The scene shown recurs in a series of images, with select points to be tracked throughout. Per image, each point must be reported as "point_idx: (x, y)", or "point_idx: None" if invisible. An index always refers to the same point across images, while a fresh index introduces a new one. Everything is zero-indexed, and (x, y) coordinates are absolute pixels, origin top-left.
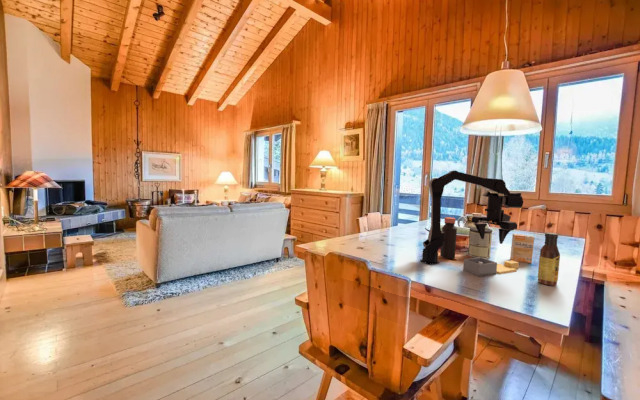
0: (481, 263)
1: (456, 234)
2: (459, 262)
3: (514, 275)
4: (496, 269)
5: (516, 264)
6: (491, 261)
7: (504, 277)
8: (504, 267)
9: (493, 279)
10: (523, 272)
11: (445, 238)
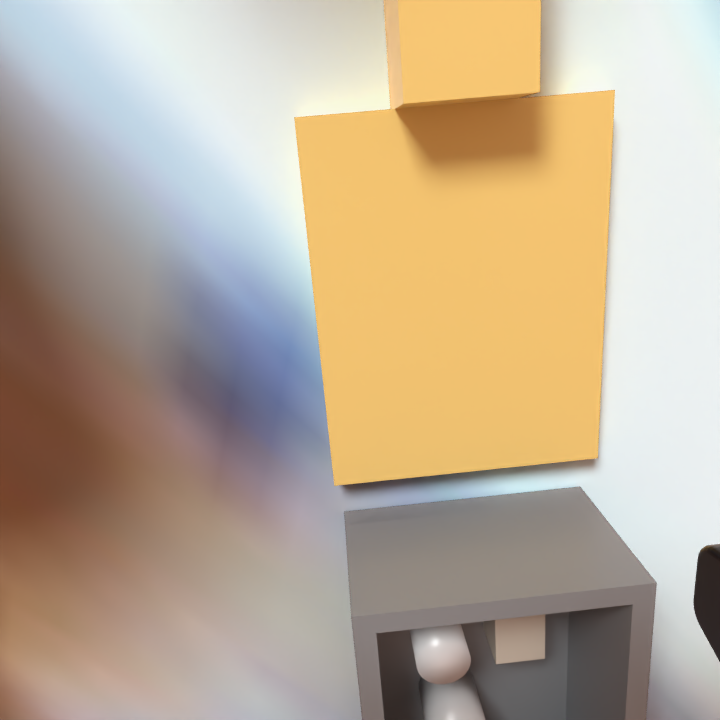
0: (468, 659)
1: None
2: (69, 591)
3: (698, 295)
4: (605, 521)
5: None
6: (572, 608)
7: (692, 480)
8: (482, 211)
9: (683, 636)
10: (672, 20)
11: None
